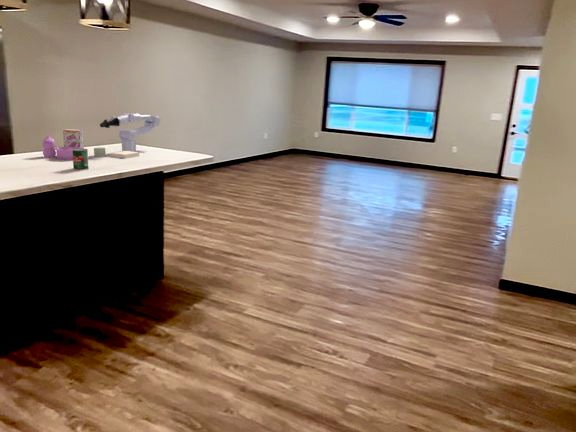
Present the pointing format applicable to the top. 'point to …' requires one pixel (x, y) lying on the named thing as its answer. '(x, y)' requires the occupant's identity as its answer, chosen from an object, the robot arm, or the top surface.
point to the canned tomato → (80, 159)
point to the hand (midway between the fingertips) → (104, 124)
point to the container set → (57, 150)
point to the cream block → (124, 154)
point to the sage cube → (99, 151)
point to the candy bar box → (73, 138)
